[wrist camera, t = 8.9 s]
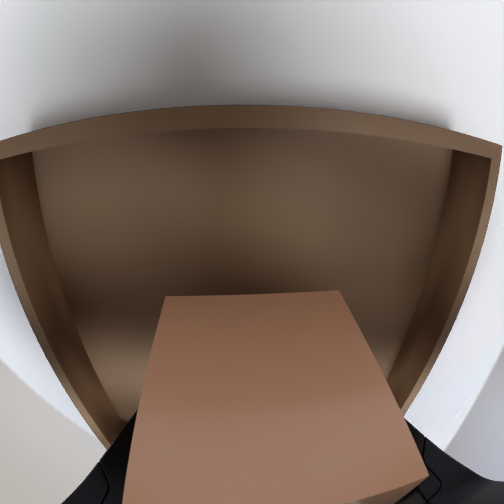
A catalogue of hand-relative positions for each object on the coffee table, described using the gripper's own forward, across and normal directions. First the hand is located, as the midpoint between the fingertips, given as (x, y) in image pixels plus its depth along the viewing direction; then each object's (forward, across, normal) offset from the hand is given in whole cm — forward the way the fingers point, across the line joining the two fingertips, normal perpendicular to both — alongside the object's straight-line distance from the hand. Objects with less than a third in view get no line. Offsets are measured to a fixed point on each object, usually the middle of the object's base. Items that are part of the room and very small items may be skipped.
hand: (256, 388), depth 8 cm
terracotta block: (+1, 0, 0) cm, 1 cm away
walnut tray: (+3, 0, 0) cm, 3 cm away
